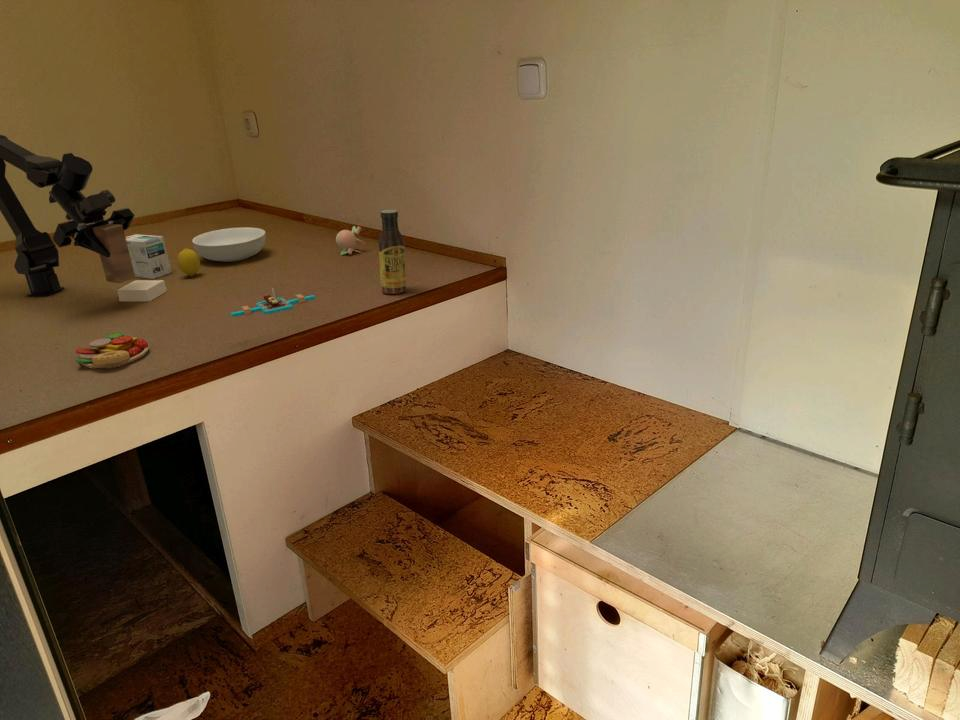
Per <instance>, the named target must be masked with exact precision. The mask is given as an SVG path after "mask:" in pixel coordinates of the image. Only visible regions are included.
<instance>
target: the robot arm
mask: <svg viewBox="0 0 960 720" xmlns="http://www.w3.org/2000/svg"><path fill="white" fill-rule="evenodd" d="M6 162H7V163H8V164H9V165H12V166H13V167H15V168H17V169H19V170H21V171H23V173H25V176H26V179H27V180H28V181H30V182H31V183H32V184H33V185H34V186H36V187H37V188H40V189H41V188H48V187H51V189H50V191H48V194H49V196H48V201H49V202H48V203H50V204H54V203H57V204H58V206H59V207H60V208H61V209H62V210H63V211H64V212H65V213H66V215H65V219H66V220H68V221H65V222H61V223H58V224H57V226H56V228H55V231H54V234H53V235H52V238H51V235H50V234H49V233H48V232H46V231H43V232H42V231H40V230H38V229H37V228H36V227H35V225H34V224H33V222H32V220H31V218H30V217H29V215H28V213H27V212H26V210H25V208H24V206H23V204H22V202H21V201H20V200H19V198H18V196H17V195H16V192H15V191H14V190H13V188H12V186H11V184H10V182H9V181H8V179H7V177H6V170H7V169H6V168H7V164H6ZM93 169H94V168H93V165H92V164H91V162H89V161H88V160H86V159H84V158H82V157H79V156H75V155H74V154H73V152H67V153H63V154H62V158H61V160H60V159H57V158H54V157H51V156H43V155H38V154H36V153H33V152H32V151H30V150H28V149H26V148H25V147H23V146H21V145H19V144H17V143H15V142H13V141H12V140H10V139H9V138H8V137H7V136H6V135H5V134H4V135H2V134H0V213H1V214H2V216H3V218H4V219H5V221H6V223H7V225H8V226H9V227H10V229H11V231H12V233H13V234H14V236H15V244H14V250H15V251H16V254H17V257H16V259H15V262H14V269H15V271H16V272H17V274H20V275H24V276H25V277H24V278H25V280H26V282H27V286H28V288H29V292H28V293H26V294H25V295H26V296H29V297H40V296H42V297H47V296H51V295H53V294H56V293H58V292H59V291H61V290H64V289H65V286H61V285H60V282H59V281H60V280H59V278H58V275H57V273H56V271H55V268H57V267H60V258H59V250H58V248H64V247H67V246H71V245H72V241H73V240H74V242H73V246H74V247H81V248H84V249H86V250H90V251H92V252H94V253H97V254H98V255H100V254H101V255H103V256H105V257H110V253H109V252H108V250H107V249H106V248H105V247H104V245H103V244H102V243H101V242H100V241H99V240H98V238H97V237H96V236H95V234H94V232H93V228H94V227H98V226H102V225H106V224H117V225H122V226H123V230H124V231H127V230H128V229H129V228H130V226H131V223H132V221H133V219H134V217H135V213H134V212H133V211H132V210H131V209H130V208H127V207H124V208H119V209H115V210H112V213H111V215H110V217H106V218H104V216H106V214H107V208H111V207H112V206H113V203H115V202H116V198H115V196H114V194H113V193H112V192H111V191H110V190H109V189H105V190H101V192H98V193H94V194H90V195H88V196H87V197H86V196H85V195H84V193H82V191H84V190H85V189H86V187H87V185H88V182H89V180H90V178H91V175H92V173H93ZM71 237H72V238H71ZM72 239H73V240H72ZM57 247H58V248H57Z"/></svg>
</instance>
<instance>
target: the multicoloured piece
mask: <svg viewBox="0 0 960 720" xmlns="http://www.w3.org/2000/svg"><path fill="white" fill-rule="evenodd" d="M271 292H272V296H271V295H270V294H269V295H264V296H263V299H264V300H263V301H260V302H256V307H253V308H251V307H249V305H244V306H241V310H239V311H234V312H231V313H230V315H231V317H237V316H242V315H245V316H248V315H252V313H256V312H260V311H261V310H262V311H261V312H263V313H264V314H265V315H267V314H268V315H269V314H273V313H278V312H282V311H287V310H291V309H293V305H292V304H297V303H299V304H302V303H306V302H307V301H311V300H315V299H316V296H315V295H314V294H313V295H308V296H307V295H306V296H304V295H303V294H301V293H298V294H295V298H294V299H289V300H287V299H285V298H284V297H277V298H276V295H275V289H274V287H272V288H271Z"/></svg>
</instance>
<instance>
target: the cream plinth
mask: <svg viewBox="0 0 960 720" xmlns="http://www.w3.org/2000/svg"><path fill="white" fill-rule="evenodd" d="M116 291H117V296H118V301H119V302H151V301H152V300H155V299H157V298H158V297H160V296H161V295H163V294H165V293H167V286H166V282H165V280H162V279H158V280H157V279H156V280H155V279H152V280H151V279H149V280H146V279H145V280H141V279H138V280H133V281H131V282H130V283H129V282H128V284H126V285H124V286H122V287H121V288H118V289H117V290H116Z"/></svg>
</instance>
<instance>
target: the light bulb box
mask: <svg viewBox="0 0 960 720" xmlns="http://www.w3.org/2000/svg"><path fill="white" fill-rule="evenodd" d="M125 238H126V242H127V246H128V250H129V254H130V258H131V262H132V266H133V270H134V274H135V278H142V279H149V280H151V279H152V280H155V279H157V278H160V277H163V276H166V275H169V274H172V269H171V264H170V261H169V256H168V252H167V249H166V243H165V240H164V236H163V235H149V234H138V233H136V234H132V235H128V236H125Z"/></svg>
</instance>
